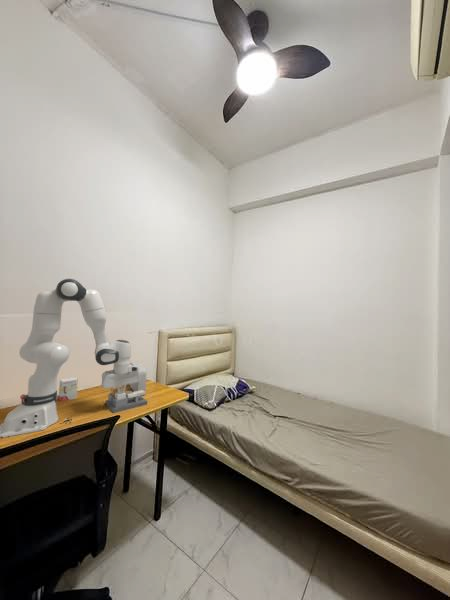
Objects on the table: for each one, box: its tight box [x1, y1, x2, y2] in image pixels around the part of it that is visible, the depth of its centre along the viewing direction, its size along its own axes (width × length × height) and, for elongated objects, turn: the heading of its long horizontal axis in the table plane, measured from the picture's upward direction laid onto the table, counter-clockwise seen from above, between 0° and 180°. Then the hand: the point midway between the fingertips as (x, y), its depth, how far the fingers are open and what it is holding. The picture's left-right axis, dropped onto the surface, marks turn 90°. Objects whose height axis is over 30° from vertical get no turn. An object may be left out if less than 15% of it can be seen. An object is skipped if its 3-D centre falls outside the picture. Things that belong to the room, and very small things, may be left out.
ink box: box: [57, 377, 78, 402], centre depth 144 cm, size 9×5×12 cm, turn 138°
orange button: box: [110, 386, 122, 396], centre depth 139 cm, size 4×4×5 cm
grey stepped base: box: [104, 392, 148, 414], centre depth 139 cm, size 19×15×6 cm
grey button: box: [115, 391, 126, 400], centre depth 134 cm, size 4×4×5 cm
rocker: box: [125, 390, 146, 398], centre depth 140 cm, size 10×4×2 cm, turn 132°
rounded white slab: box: [128, 361, 147, 393], centre depth 164 cm, size 27×7×17 cm, turn 34°
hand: (120, 393), depth 134 cm, fingers closed, pressing on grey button
